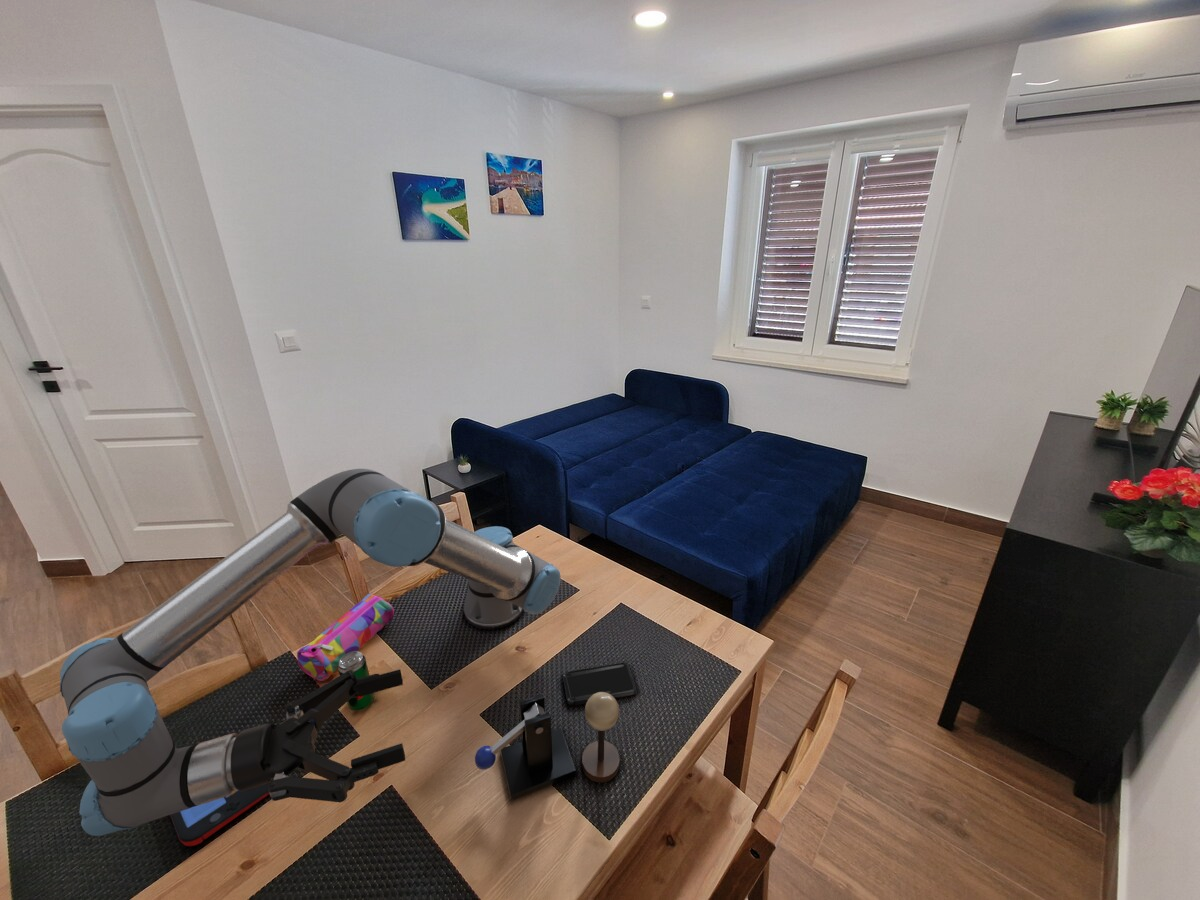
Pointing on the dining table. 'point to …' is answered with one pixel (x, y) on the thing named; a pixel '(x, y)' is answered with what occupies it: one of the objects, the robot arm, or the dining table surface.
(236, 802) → the game console
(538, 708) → the switch lever
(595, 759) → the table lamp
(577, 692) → the phone
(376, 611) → the pencil case
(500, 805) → the dining table surface
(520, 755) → the switch bracket
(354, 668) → the soda can
